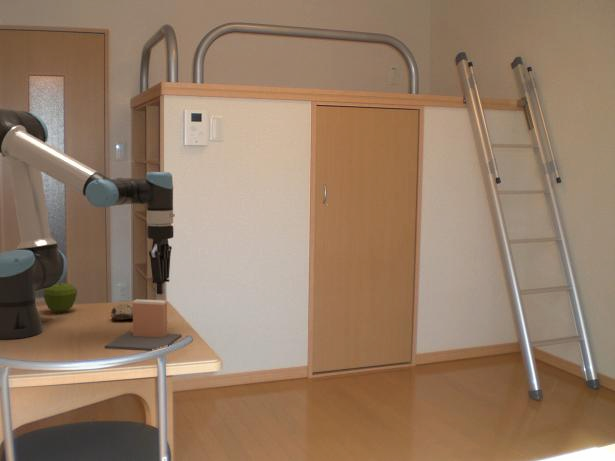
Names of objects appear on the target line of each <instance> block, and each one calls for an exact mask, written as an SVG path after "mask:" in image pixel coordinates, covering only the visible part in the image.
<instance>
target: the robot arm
mask: <svg viewBox="0 0 615 461" xmlns="http://www.w3.org/2000/svg"><path fill="white" fill-rule="evenodd" d="M48 138H49V132H48V127H47V124H46V123H45V121H44V120H43V119H42V118H41V117H40V116H38V115H37V114H35V113H32V112H28V111H26V110H15V109H14V110H13V109H6V108H0V153H1V154H2V158H3V160H5V161H6V162H7V163H8V164H9V170H10V171H9V172H10V177H11V184H12V191H13V197H14V205H15V210H16V211H15V212H16V216H17V217H16V218H17V223H18V230H19V236H20V243H19V244H18V245H17V247H16V249H11V250H6V251H2V252H0V340H11V339H13V340H14V339H23V338H29V337H33V336H37V335H38V334H39V335H40V334H41V333H42V332H43V321H42V320H41V316H40V314H39V311H38V308H37V304H36V292H38V291H40V290H42V289H45V288H49V287H52V286H54V285H55V284H58V283H59V282H60V283H61V282H62V280H63V279H64V277H65V276H66V274H67V272H68V262H67V261H68V260H67V257H66V255H65V254H64V253H62V251H61V250H59V248H58V242H57V241H56V240H55V239H53V238H52V236H51V235H52V234H51V230H50V223H49V215H48V209H47V203H46V197H45V195H46V194H45V190H44V183H43V181H44V180H43V177H42V176H43V175H42V173H44V174H45V175H47V176H49V177H50V178H52V179H54V180H55V181H58V183H59V182H60V183H61V184H62V185H65V186H66V187H68V188H70V189H71V190H74V191H75V192H78V193H79V194H81V195H83V196H85V198H86V199H87V201H88V202H89V203H90V204H91V205H92V206H94V207H96V208H109V207H113V206H121V205H122V206H123V205H146V223H147V227H146V230H147V231H146V232H147V233H146V234H147V235H146V238H148V239H149V240H152V245H151V250H149V251H148V255H149V259H150V268H151V276H152V277H151V278H152V281H151V282H152V284H155V300H165V301H167V302H168V300H167V299H168V298H167V283H169V282H170V270H171V269H170V268H171V255H172V254H171V253H172V249H173V248H172V247H173V246H172V245H170V244H169V240H170V239H173V238H174V225H172V224H173V223H174V218H175V213H174V182H173V174H172V173H171V172H169V171H148V172H146V176H145V178H135V177H134V178H132V177H131V178H129V177H117V178H110V177H107V176H106V175H105V174H102V173H101V172H98V171H97V170H95V169H94V168H92V167H90V166H88V165H86V164H85V163H82V162H81V161H79V160H77V159H75V158H73V157H71V156H70V155H68V154H67V153H65V152H63V151H61V150H59V149H57V148H56V147H53V146H52V145H50V144H48V143H47V142H48Z"/></svg>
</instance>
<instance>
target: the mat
mask: <svg viewBox="0 0 615 461" xmlns="http://www.w3.org/2000/svg"><path fill="white" fill-rule="evenodd" d="M179 337H180V338H182V334H180V333H167V335H166V336H165V337H164V338H162V337H144V336H133V331H127V332H125V333H124V334H122V335H120V336H119V337H117V338H115V339H114V340H112V341H110V342H109V343H107V344H106V345H104V348H105V349H116V350H117V349H118V350H119V349H120V350H135V351H149V350H152V349H157V348H160V347H164V346H166V345H169V344H171V343H172V344H174V343H175V342H176V341H177V340H179V339H180V338H179ZM178 338H179V339H178ZM174 341H175V342H174ZM172 344H171V345H172Z"/></svg>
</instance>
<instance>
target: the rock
mask: <svg viewBox="0 0 615 461" xmlns="http://www.w3.org/2000/svg"><path fill="white" fill-rule="evenodd" d="M110 317H111V318H112V319H114V320H116V321H118V322H119V321H126V320H130V319H132V320H133V306H132V305H129V304H128V303H122V304H120V305H117V306H116V305H115V306H114V307H113V308H112V309H111V312H110Z"/></svg>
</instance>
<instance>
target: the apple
mask: <svg viewBox="0 0 615 461" xmlns="http://www.w3.org/2000/svg"><path fill="white" fill-rule="evenodd" d="M43 289H44V290H43V291H42V292H43V293H42V295H43V299H44V302H45V304H46V306H47V308H48V309H49V310H50V311H52V312H53V313H55V314H57V313H64V312H68V310H70V309H71V308H73V305H74V304H75V302H76V299H77V296H78V295H77V294H78V290H77V288H76V286H74V285H73V284H71V283H64V282H63V283H62V282H61V281H60V282H59V283H57V284H55V285H54V286H52V287H49V288H43Z"/></svg>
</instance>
